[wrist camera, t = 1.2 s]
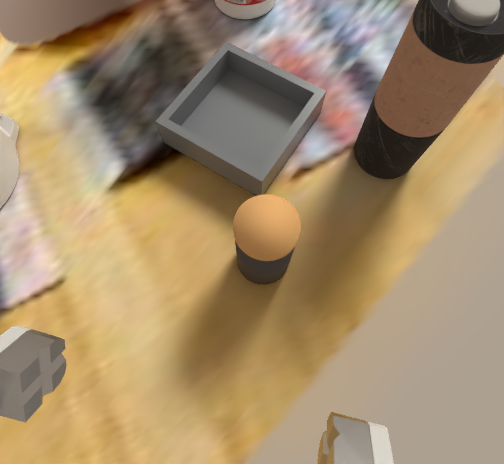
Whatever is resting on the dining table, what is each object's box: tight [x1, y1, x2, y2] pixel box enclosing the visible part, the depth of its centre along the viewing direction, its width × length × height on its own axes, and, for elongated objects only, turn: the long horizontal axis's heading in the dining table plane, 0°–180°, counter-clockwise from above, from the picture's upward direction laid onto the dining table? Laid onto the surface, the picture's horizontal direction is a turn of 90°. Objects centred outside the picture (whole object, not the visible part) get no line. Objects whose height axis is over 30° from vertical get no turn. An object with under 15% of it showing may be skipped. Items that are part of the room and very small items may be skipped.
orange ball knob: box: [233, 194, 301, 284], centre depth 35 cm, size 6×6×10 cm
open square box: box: [156, 42, 326, 196], centre depth 44 cm, size 14×14×4 cm
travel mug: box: [355, 0, 504, 179], centre depth 35 cm, size 8×8×20 cm
